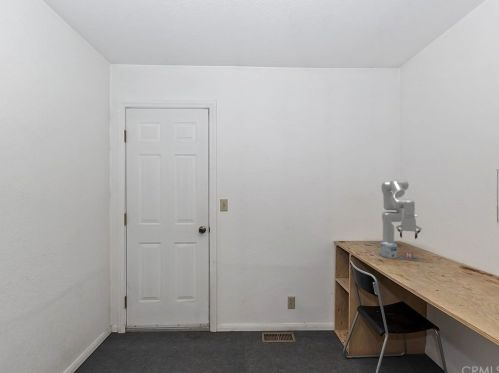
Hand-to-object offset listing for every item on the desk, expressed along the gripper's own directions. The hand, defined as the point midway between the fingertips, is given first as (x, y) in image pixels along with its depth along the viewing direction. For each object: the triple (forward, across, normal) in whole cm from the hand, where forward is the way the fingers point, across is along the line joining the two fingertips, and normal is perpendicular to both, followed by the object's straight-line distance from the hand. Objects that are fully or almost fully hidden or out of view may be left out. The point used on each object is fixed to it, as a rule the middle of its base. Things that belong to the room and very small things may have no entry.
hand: (408, 238), depth 213 cm
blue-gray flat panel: (+16, 0, +1) cm, 16 cm away
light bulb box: (+16, +14, +3) cm, 21 cm away
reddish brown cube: (+15, 0, +1) cm, 15 cm away
